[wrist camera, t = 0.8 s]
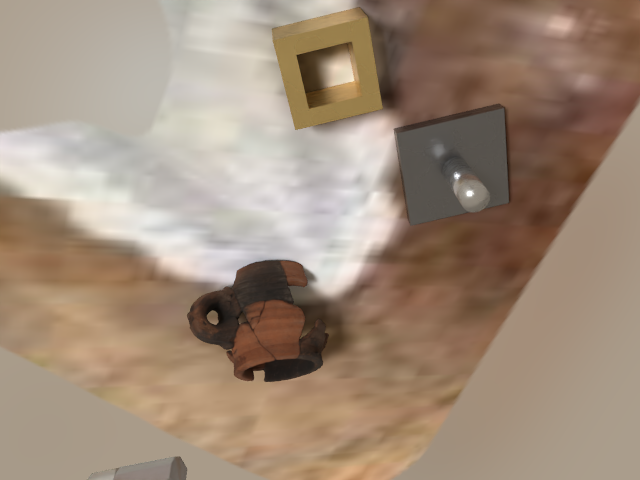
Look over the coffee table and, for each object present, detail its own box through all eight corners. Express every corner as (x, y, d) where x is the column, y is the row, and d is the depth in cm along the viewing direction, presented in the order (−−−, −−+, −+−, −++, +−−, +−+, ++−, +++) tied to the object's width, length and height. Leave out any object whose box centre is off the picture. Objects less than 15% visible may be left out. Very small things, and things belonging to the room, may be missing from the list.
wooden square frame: (271, 28, 39) (272, 40, 36) (359, 7, 39) (367, 17, 36) (292, 112, 42) (295, 130, 39) (373, 93, 42) (382, 109, 39)
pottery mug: (337, 259, 50) (353, 352, 46) (292, 303, 57) (303, 387, 53) (198, 246, 45) (204, 350, 41) (169, 297, 52) (171, 389, 48)
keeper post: (393, 128, 44) (411, 160, 39) (499, 103, 43) (531, 132, 38) (407, 219, 48) (425, 259, 43) (504, 197, 48) (534, 234, 42)
